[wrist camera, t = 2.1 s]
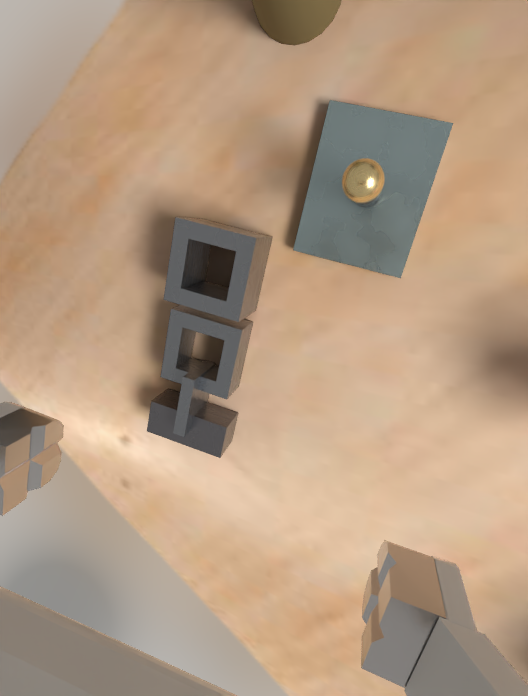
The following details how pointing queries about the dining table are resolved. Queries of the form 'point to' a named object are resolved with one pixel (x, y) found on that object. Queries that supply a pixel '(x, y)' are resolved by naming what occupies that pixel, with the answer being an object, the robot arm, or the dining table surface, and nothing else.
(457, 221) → the dining table surface
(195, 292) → the end link
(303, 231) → the grey plate with post
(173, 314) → the chain tail
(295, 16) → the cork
